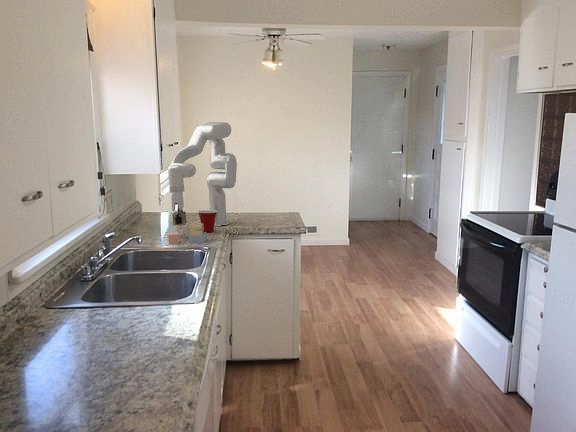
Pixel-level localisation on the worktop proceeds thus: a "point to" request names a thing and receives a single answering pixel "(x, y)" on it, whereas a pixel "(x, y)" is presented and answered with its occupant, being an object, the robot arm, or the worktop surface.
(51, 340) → the worktop surface
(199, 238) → the base block
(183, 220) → the walnut cube
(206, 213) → the plastic cup
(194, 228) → the oak block
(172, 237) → the terracotta block
